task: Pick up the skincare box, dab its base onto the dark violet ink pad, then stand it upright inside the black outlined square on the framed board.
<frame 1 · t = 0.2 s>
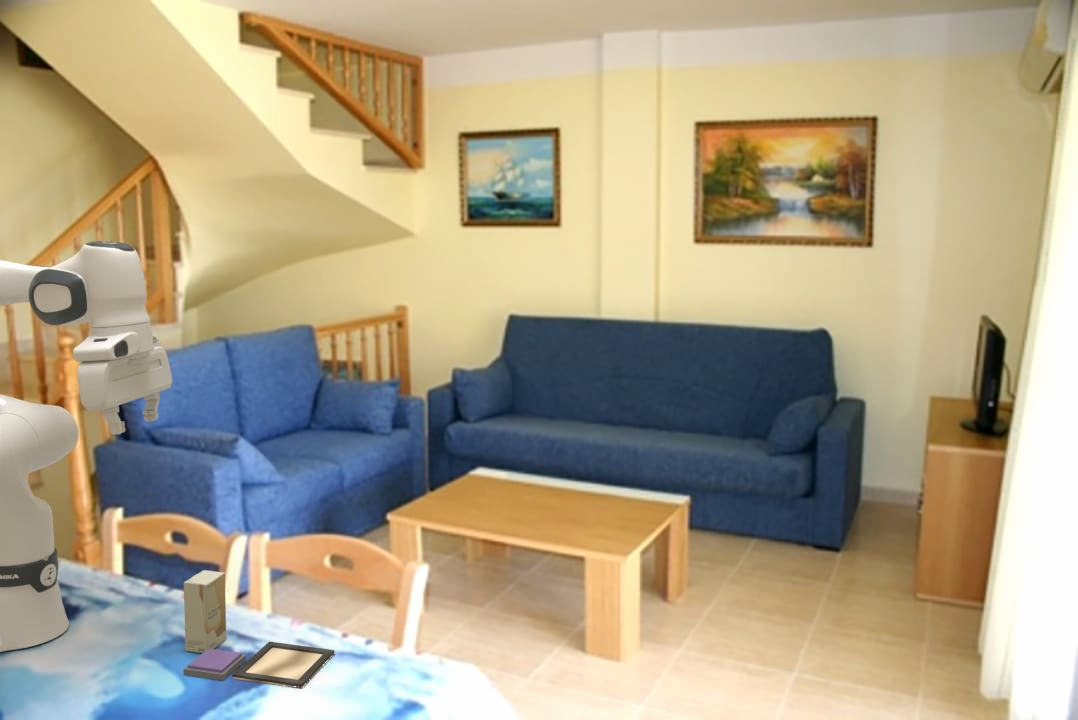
hand: (135, 426, 152), 38 cm above the table, tool pointing down, fingers open, 8 cm apart
framed board: (284, 665, 154), on the table
skincare box: (206, 646, 160), on the table
ink pad: (215, 667, 153), on the table
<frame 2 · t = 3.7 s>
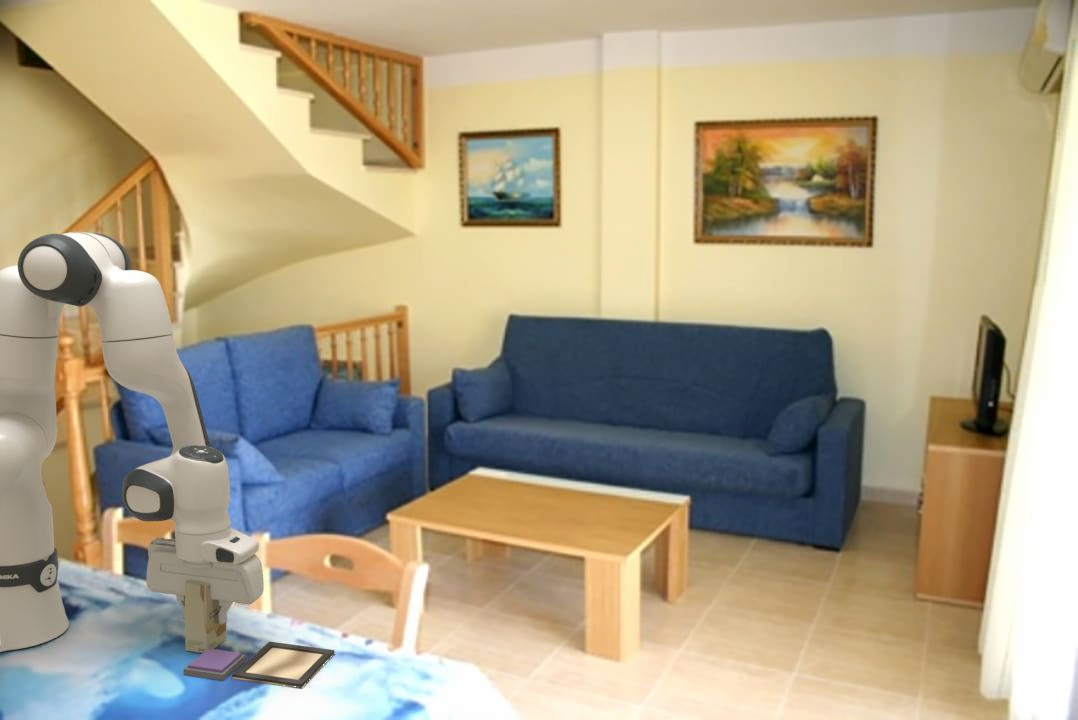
hand: (205, 620, 159), 5 cm above the table, tool pointing down, fingers closed on skincare box, 4 cm apart
skincare box: (206, 645, 160), on the table, touching gripper
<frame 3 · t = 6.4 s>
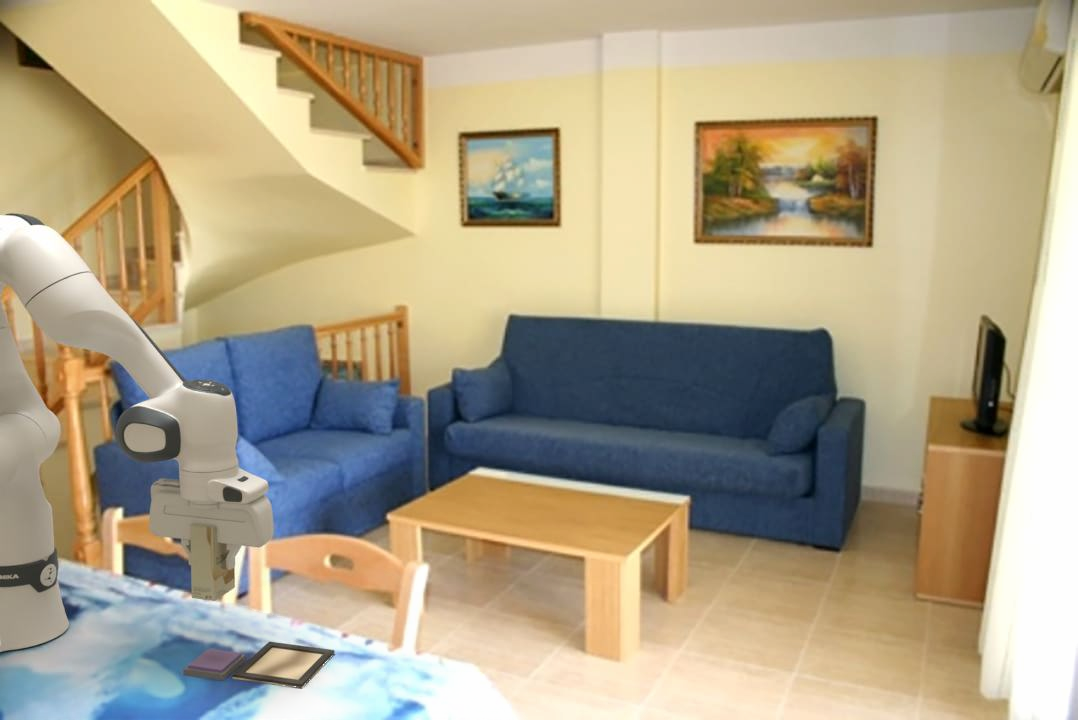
hand: (212, 566, 150), 17 cm above the table, tool pointing down, fingers closed on skincare box, 4 cm apart
skincare box: (214, 594, 151), point 12 cm above the table, touching gripper
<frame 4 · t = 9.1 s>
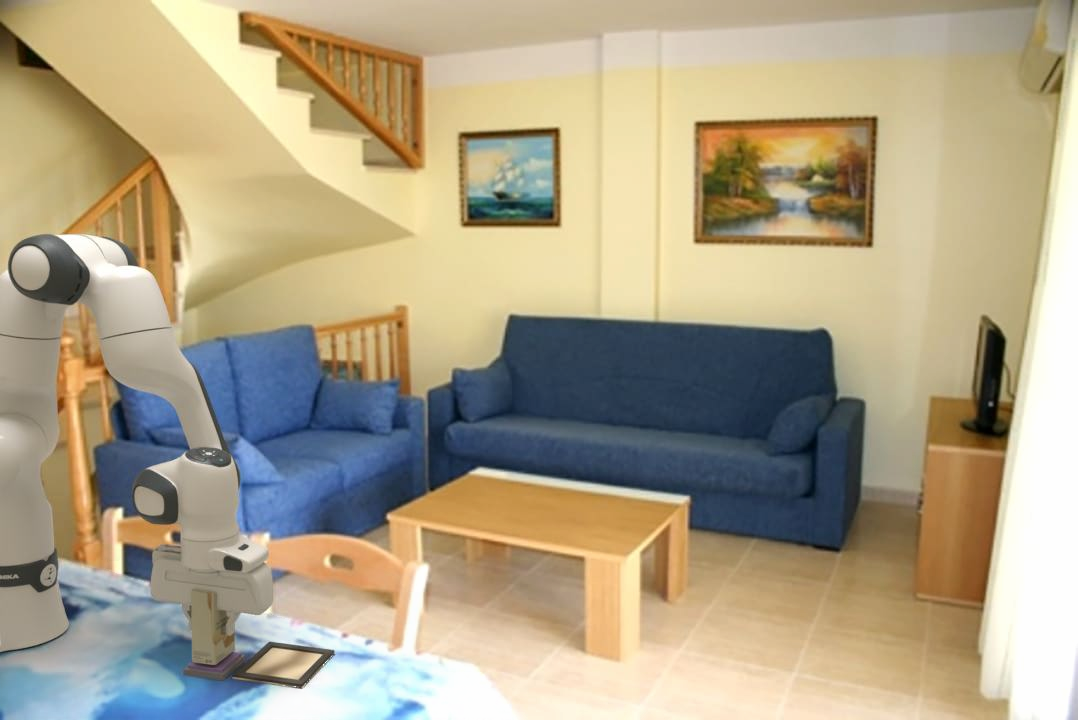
hand: (212, 631, 152), 6 cm above the table, tool pointing down, fingers closed on skincare box, 4 cm apart
skincare box: (214, 657, 153), point 2 cm above the table, touching gripper
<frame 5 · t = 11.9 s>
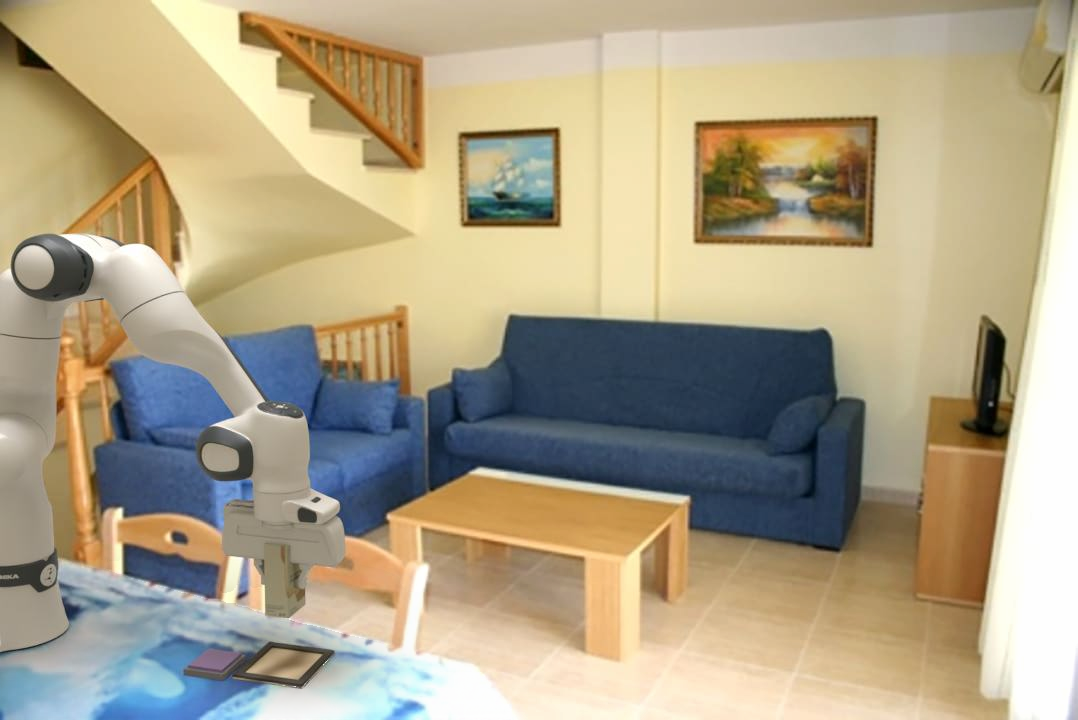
hand: (284, 585, 152), 14 cm above the table, tool pointing down, fingers closed on skincare box, 4 cm apart
skincare box: (286, 611, 153), point 9 cm above the table, touching gripper
when the fingers open (6 cm above the table, at t = 13.9 s): skincare box drops 1 cm, resting on framed board.
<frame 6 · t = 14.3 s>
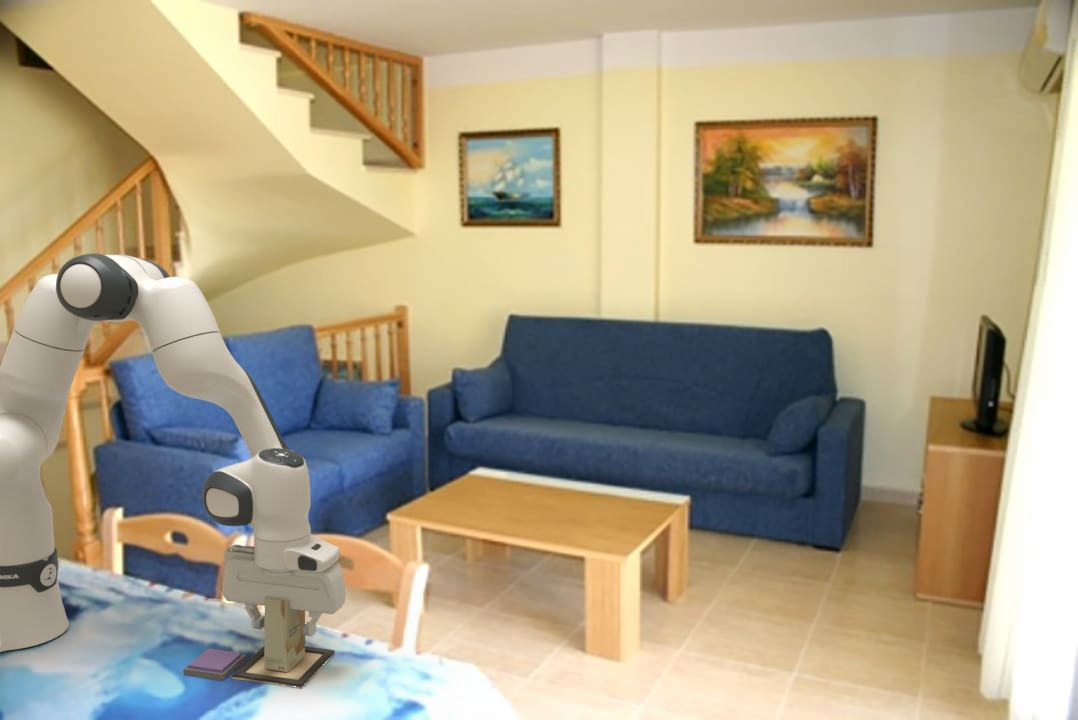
hand: (284, 631, 153), 6 cm above the table, tool pointing down, fingers open, 8 cm apart
skincare box: (285, 663, 154), resting on framed board
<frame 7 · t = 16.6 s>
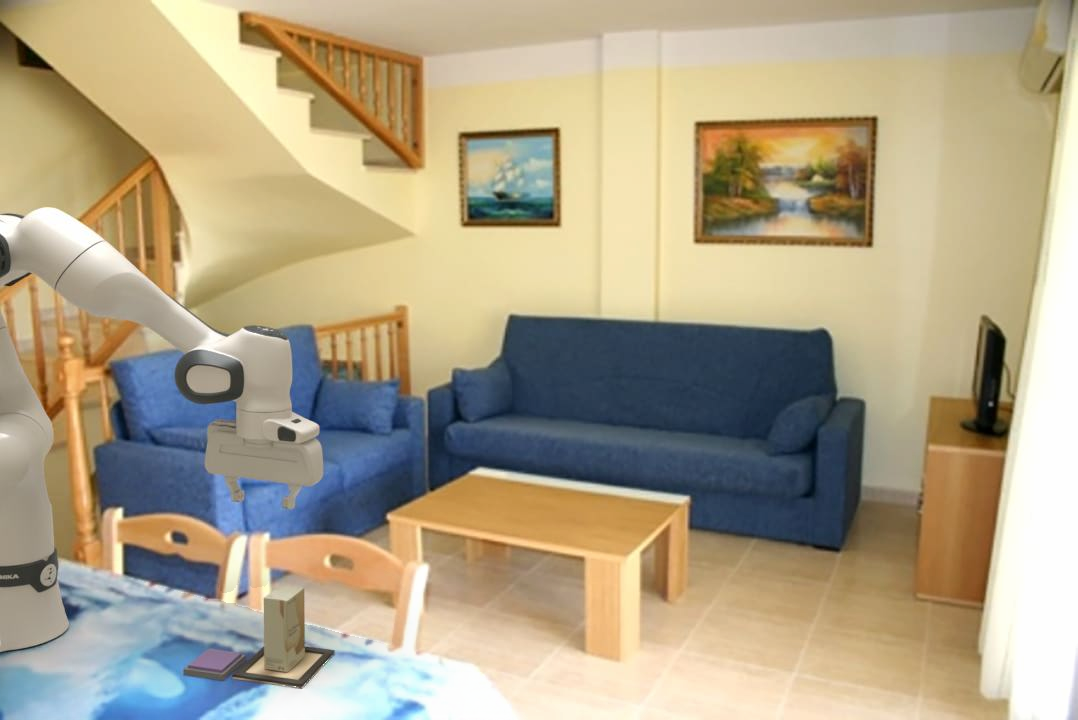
hand: (263, 504, 157), 25 cm above the table, tool pointing down, fingers open, 8 cm apart
nothing on the table moved.
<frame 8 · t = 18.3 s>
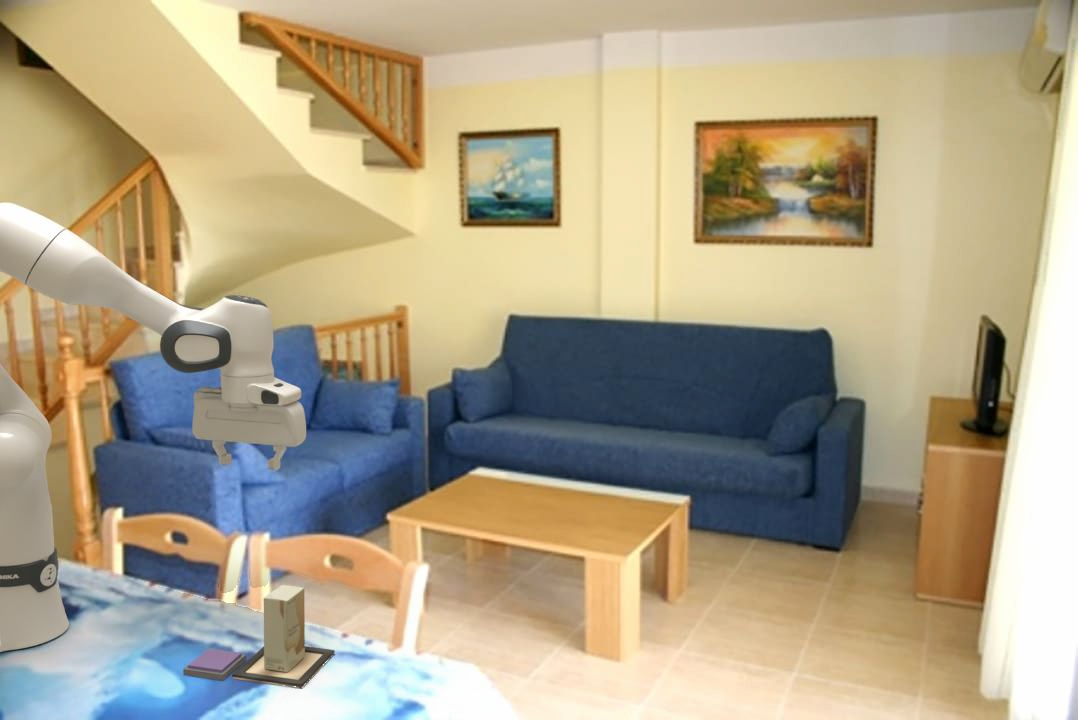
hand: (249, 466, 164), 29 cm above the table, tool pointing down, fingers open, 8 cm apart
nothing on the table moved.
at the end: skincare box 0.5 cm off-centre on the framed board, point 0.1 cm above the framed board's base; skincare box tilted 0°; the gripper is holding nothing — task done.
